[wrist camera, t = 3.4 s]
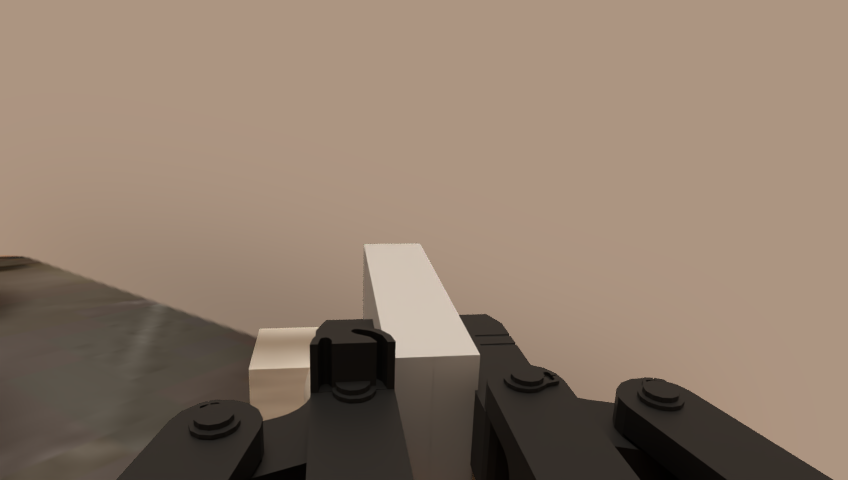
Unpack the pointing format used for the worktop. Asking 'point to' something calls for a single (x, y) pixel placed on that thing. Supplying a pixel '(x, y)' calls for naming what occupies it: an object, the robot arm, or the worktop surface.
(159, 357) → the worktop surface
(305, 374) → the knob mount
